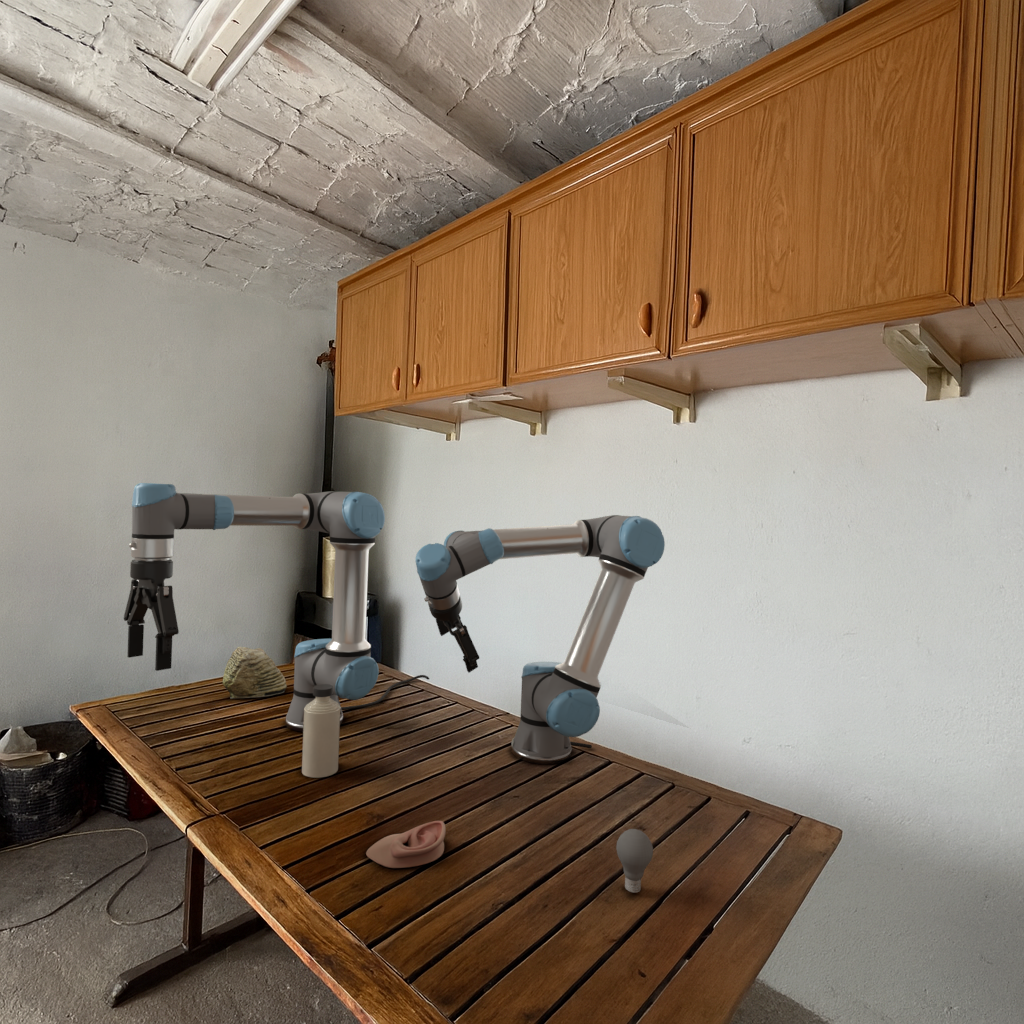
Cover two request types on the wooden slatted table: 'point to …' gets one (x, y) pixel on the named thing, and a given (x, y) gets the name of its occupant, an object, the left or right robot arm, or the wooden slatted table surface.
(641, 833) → the light bulb
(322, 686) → the cap
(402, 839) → the anatomical model
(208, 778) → the wooden slatted table surface
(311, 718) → the bottle
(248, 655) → the fossil
